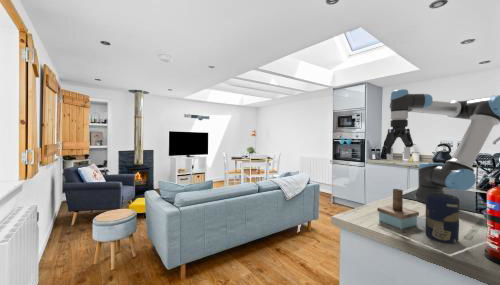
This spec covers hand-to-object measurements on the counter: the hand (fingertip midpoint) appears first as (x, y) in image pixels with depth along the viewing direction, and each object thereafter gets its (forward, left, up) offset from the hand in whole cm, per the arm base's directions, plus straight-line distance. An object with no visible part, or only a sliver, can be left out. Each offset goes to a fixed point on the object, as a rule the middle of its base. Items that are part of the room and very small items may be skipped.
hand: (398, 159), depth 116 cm
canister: (+19, +29, -27) cm, 44 cm away
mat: (+9, +16, -27) cm, 32 cm away
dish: (+20, +13, -27) cm, 36 cm away
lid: (+20, +13, -22) cm, 32 cm away
